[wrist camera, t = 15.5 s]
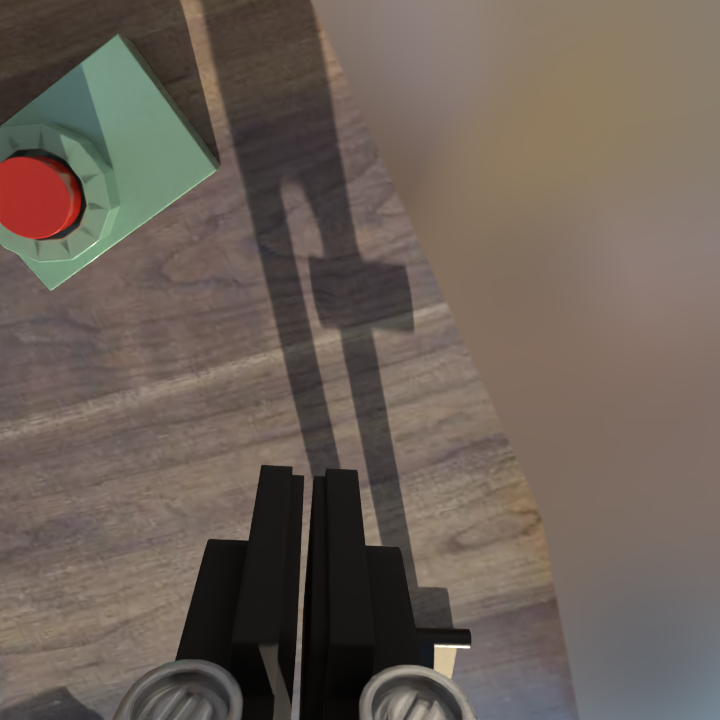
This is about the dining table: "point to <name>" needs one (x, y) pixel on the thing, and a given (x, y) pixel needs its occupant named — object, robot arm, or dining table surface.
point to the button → (37, 196)
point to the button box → (106, 155)
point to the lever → (440, 641)
